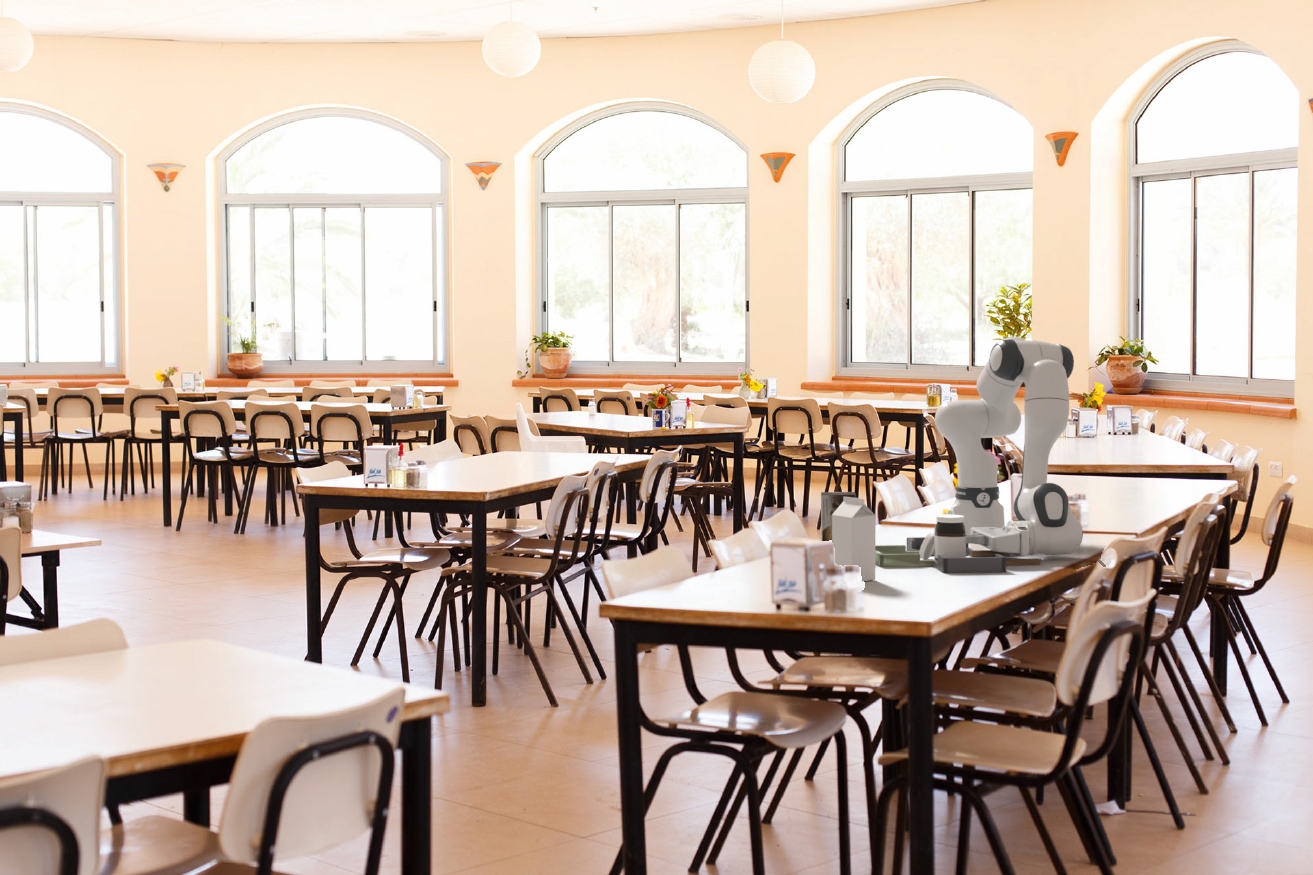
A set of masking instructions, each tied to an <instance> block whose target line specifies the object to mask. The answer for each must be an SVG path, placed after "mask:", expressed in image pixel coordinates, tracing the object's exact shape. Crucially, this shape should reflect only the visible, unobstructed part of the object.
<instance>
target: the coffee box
mask: <svg viewBox="0 0 1313 875" xmlns="http://www.w3.org/2000/svg"><path fill="white" fill-rule="evenodd" d="M843 497H852V498H857V494H856V492H855V491H821V492H820V518H821V519H820V522H821V523H820V527H821V528H820V532H821V538H820V539H821V541H829V540H832V514H833V513H834V512H835V511H836V509H837V508H838V507H839V506H840V505H841V503H842V502H843Z"/></svg>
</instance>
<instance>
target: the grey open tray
mask: <svg viewBox="0 0 1313 875" xmlns="http://www.w3.org/2000/svg"><path fill="white" fill-rule="evenodd" d="M925 537H926V536H924V537H921V536H920V537H906V551H920V548H921V545H922V543H923V541H924V539H925ZM970 550H973V549H972V548H970V547H969V543H966V557H971V556H970ZM930 557H934V551H933V553H932V555H931V556H930Z"/></svg>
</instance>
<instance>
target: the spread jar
mask: <svg viewBox="0 0 1313 875" xmlns="http://www.w3.org/2000/svg"><path fill="white" fill-rule="evenodd" d="M935 519H936V520H935V521H936V524H935V525H934V531H933V532H934V533H928V534H927V535H926V536H924V537H925V539H924V541H923V543H922V545H921V548H920V552H919V554H920V559H921V560H929V558H930V557H932V556H931V555H932V553H933V551H934V556H933V557H934V560H936V561H938V555H943V556H944V557H946V558H963V557H967V556H966V528H965V525H964V516H962V515H945V514H938V515H937V514H936V518H935Z"/></svg>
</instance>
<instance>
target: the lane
mask: <svg viewBox="0 0 1313 875" xmlns="http://www.w3.org/2000/svg"><path fill="white" fill-rule="evenodd" d="M919 552H920V551H907V545H905V544H899V545H898V544H896V545H895V544H893V545H891V544H890V545H889V544H887V545H886V544H885V545H881V544H880V545H879V544H878V545H876V544H875V566H878V567H879V568H891V567H892V568H893V567H894V568H896V567H897V568H903V567H933V566H932V561H935V559H927V560H924V559H921V558H920V554H919ZM995 554H1000V555H1002V556H1004V557H1011V556H1010V555H1009V553H1004V552H996V551H992V550H990V549H984V550H983V549H981V550H978V549H976V550H974V549H972V550H970V556H969V557H995ZM1041 564H1042V559H1041V558H1006V566H1038V565H1041Z"/></svg>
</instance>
